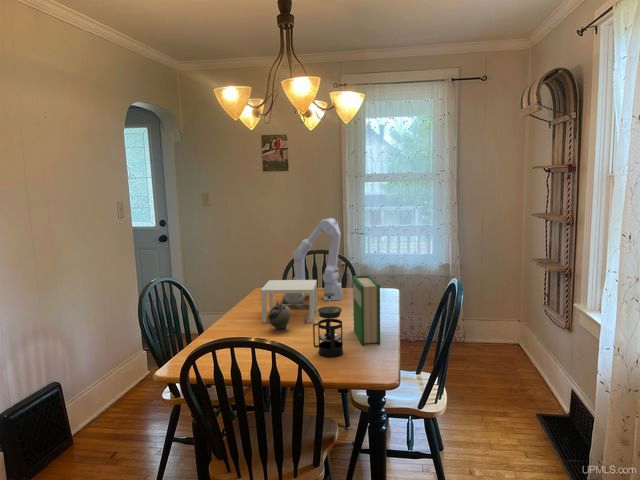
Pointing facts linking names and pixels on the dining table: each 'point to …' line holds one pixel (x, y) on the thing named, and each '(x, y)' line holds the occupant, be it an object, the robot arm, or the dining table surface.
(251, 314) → the dining table surface
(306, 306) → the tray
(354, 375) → the dining table surface
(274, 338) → the dining table surface
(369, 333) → the hardback book
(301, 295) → the teacup
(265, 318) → the shelf
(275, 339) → the dining table surface
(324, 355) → the french press
